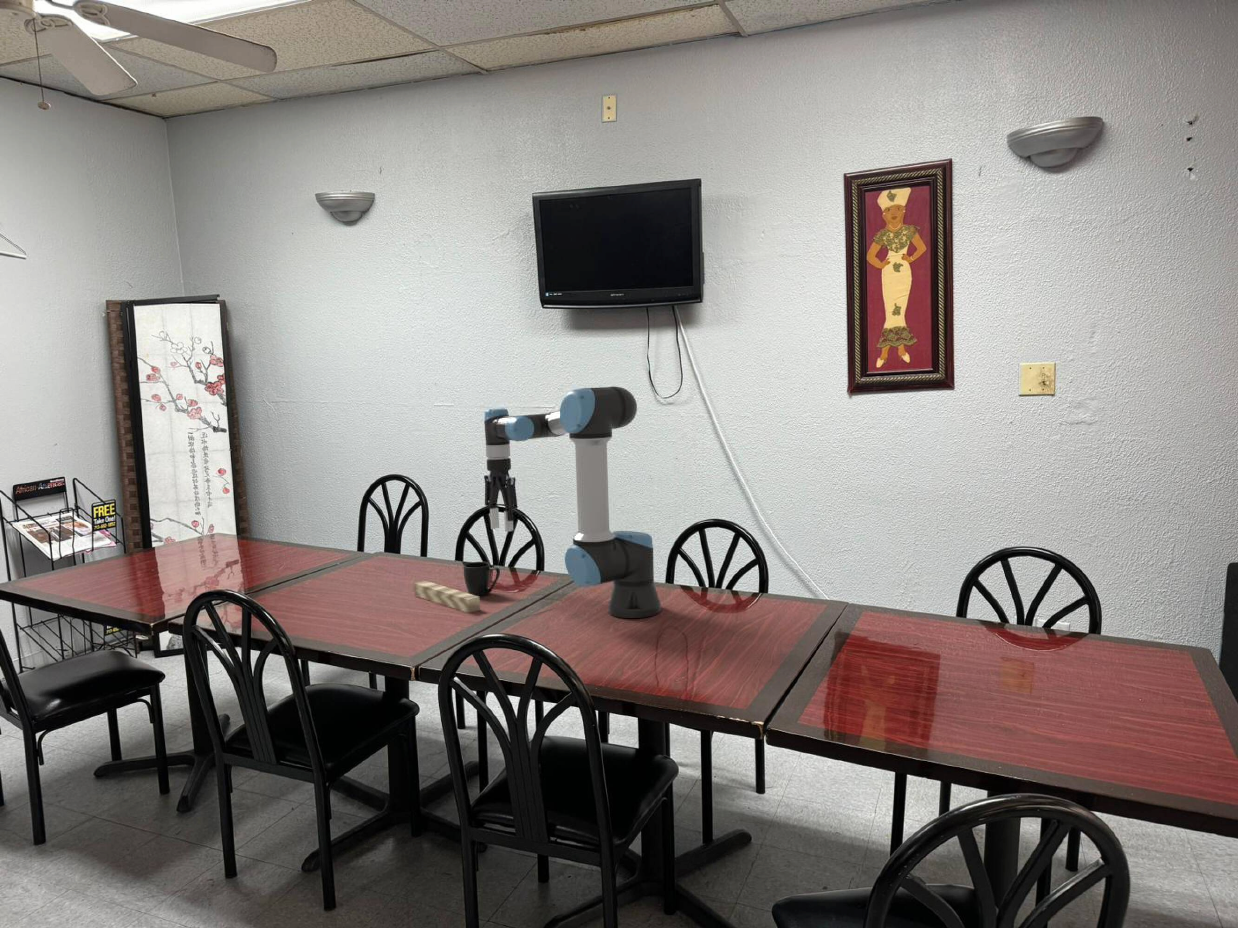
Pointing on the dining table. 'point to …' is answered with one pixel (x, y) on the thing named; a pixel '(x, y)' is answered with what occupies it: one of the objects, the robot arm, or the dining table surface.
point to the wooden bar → (447, 596)
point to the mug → (479, 578)
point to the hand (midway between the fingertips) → (502, 529)
